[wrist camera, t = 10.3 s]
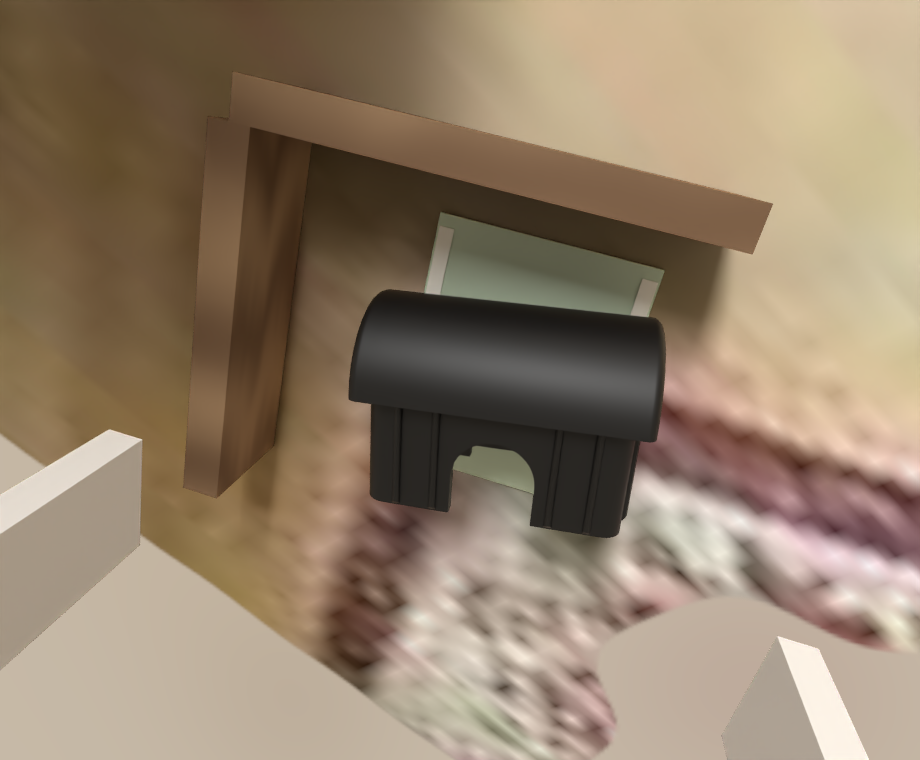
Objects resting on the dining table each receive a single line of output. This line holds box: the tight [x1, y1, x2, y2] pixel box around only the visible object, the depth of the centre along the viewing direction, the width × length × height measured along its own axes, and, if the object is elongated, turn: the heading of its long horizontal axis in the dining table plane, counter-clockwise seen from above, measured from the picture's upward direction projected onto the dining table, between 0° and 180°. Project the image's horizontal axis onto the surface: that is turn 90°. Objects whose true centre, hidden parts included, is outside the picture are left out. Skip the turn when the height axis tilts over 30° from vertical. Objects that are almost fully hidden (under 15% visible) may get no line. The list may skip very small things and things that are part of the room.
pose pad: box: [424, 212, 665, 494], centre depth 26 cm, size 11×9×1 cm
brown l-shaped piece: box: [183, 72, 773, 498], centre depth 24 cm, size 16×18×5 cm
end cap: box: [349, 289, 666, 538], centre depth 23 cm, size 10×7×7 cm
